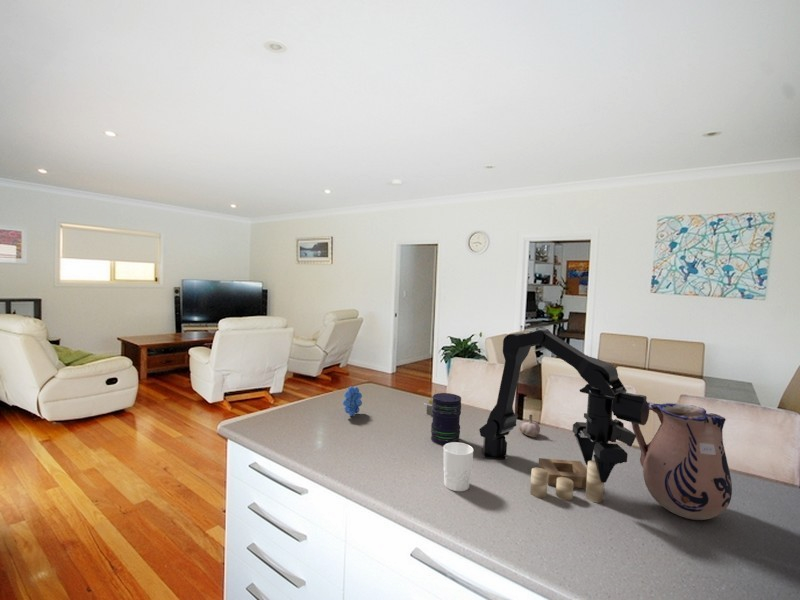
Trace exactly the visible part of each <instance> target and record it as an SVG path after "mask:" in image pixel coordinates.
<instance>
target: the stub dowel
mask: <svg viewBox="0 0 800 600" xmlns="http://www.w3.org/2000/svg"><path fill="white" fill-rule="evenodd" d="M555 496H556V497H557V498H559V499H560V500H563V501H571V500H573V496H574V487H573V481H572V480H570V479H568V478H565V477H558V478H557V483H556V486H555Z"/></svg>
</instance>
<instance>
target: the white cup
mask: <svg viewBox="0 0 800 600" xmlns="http://www.w3.org/2000/svg"><path fill="white" fill-rule="evenodd" d="M474 450H475V449H474V448H473V447H472V446H471V445H469V444H467V443H464V442H460V441H459V442H451V443H447V444H445V445H444V446H443V461H442V462H443V463H442V464H443V465H442V466H443V485H444V486H445V487H446V489H449V490H451V491H454V492H465V491H467V490H468V489H470V484H471V483H470V482H471V476H472V469H473V461H474V459H473V458H474Z"/></svg>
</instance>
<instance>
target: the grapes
mask: <svg viewBox="0 0 800 600" xmlns="http://www.w3.org/2000/svg"><path fill="white" fill-rule="evenodd" d="M362 397H363V395H362V393H361V392H360V389H359V387H358V386H349V387H348V391H345V392H344V398H345V399H343V401H342V405H343V406H344V412H345V413H346V414H348V415H349V416H350V417H353V416H355V415H356V414H358V413H359V412H360V407H361V406H362V405H363V402H362Z"/></svg>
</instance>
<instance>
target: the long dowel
mask: <svg viewBox="0 0 800 600" xmlns="http://www.w3.org/2000/svg"><path fill="white" fill-rule="evenodd" d="M586 468H587V482H586V488H585V498H586V500H588V501H590V502H592V503H596V504H601V503H603V502H604V491H605V490H604V489H605V488H604V487H605V483H602V482H601V481H600V478H599V474H598V470H597V466H596V463H595V460H592V461H588V465H586Z"/></svg>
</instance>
